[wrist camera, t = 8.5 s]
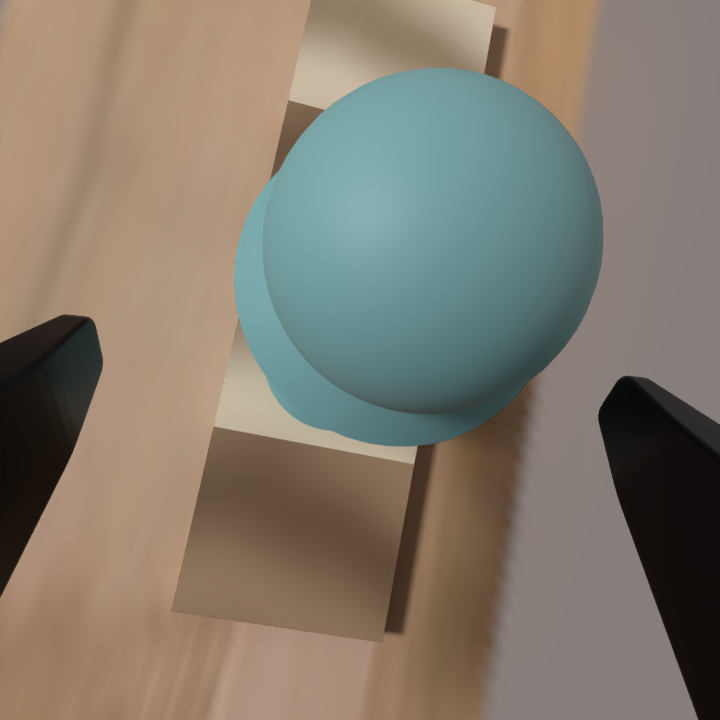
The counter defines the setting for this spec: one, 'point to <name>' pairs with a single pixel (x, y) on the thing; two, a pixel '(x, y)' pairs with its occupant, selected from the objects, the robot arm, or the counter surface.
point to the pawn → (418, 257)
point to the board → (290, 436)
